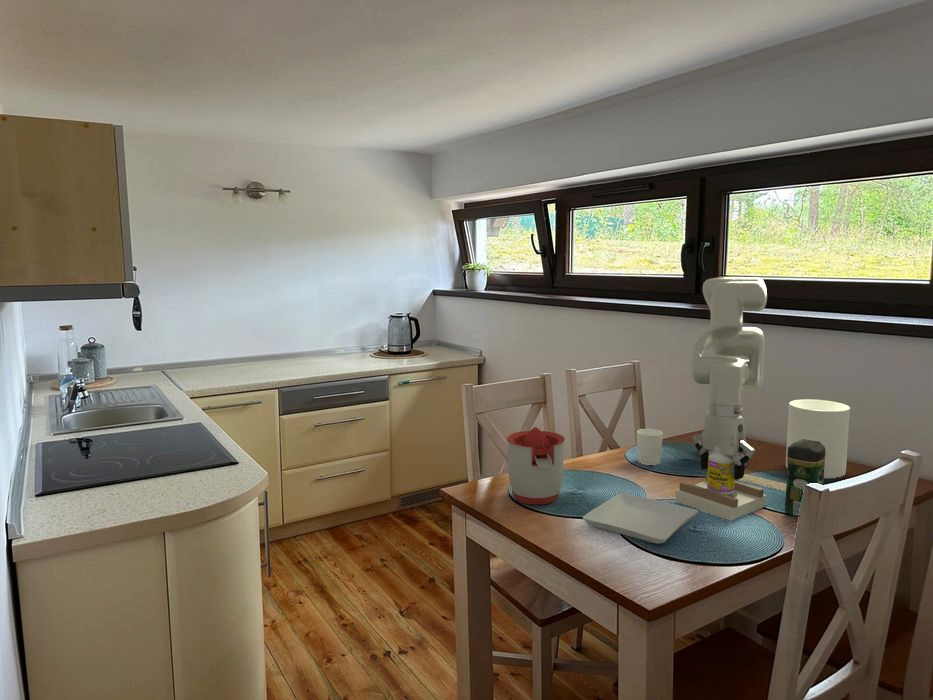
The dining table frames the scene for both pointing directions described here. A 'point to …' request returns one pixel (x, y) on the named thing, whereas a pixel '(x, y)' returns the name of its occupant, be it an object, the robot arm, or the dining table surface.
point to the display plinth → (722, 499)
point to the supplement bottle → (721, 473)
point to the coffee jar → (802, 471)
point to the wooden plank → (764, 482)
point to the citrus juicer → (535, 465)
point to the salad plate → (640, 517)
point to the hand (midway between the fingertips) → (721, 473)
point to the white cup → (649, 446)
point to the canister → (821, 430)
